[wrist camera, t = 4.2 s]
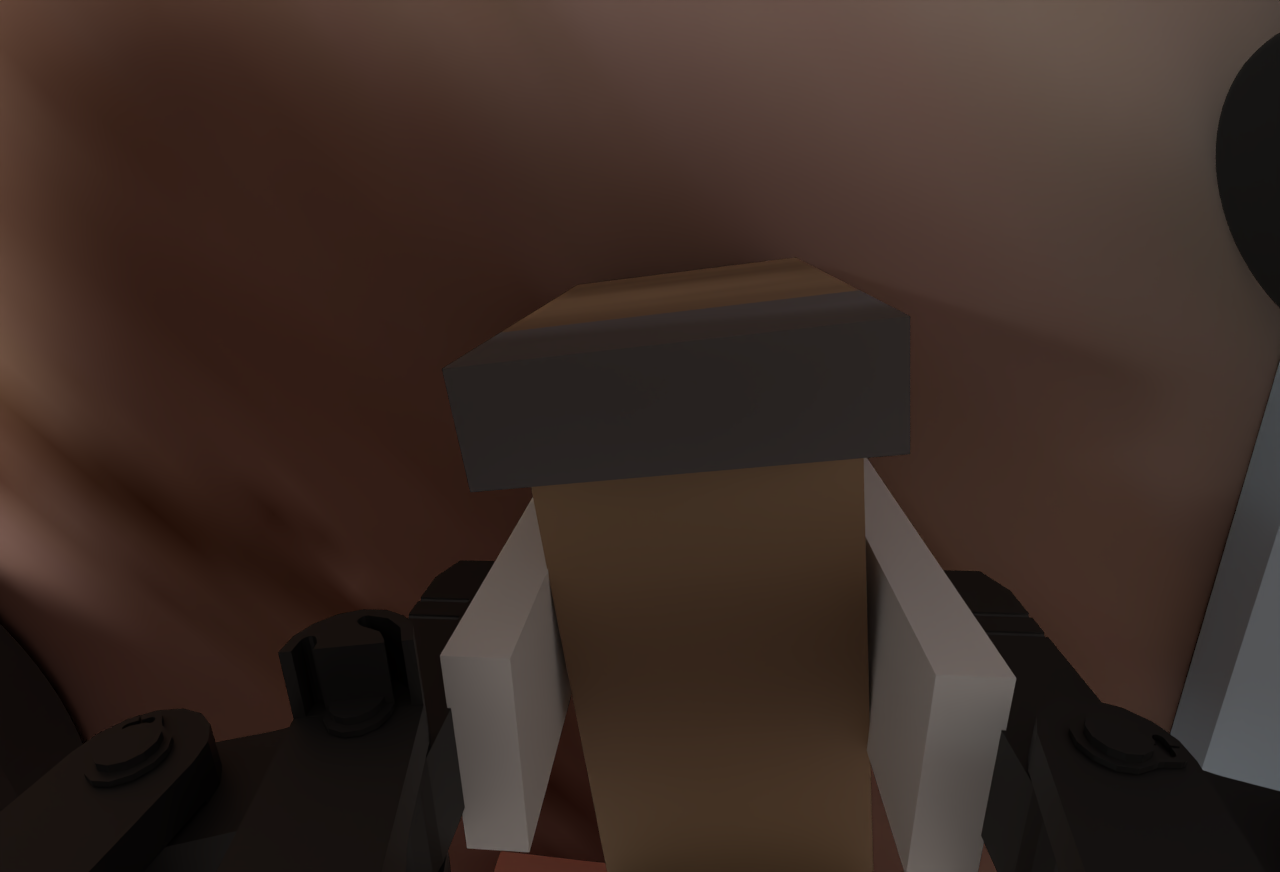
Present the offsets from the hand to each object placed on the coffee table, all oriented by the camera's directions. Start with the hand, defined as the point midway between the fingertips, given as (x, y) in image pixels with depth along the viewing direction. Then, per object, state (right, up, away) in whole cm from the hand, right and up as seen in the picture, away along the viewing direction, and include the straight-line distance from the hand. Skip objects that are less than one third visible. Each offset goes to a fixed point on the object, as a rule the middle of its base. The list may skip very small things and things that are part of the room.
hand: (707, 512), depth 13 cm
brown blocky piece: (0, 0, 0) cm, 0 cm away
